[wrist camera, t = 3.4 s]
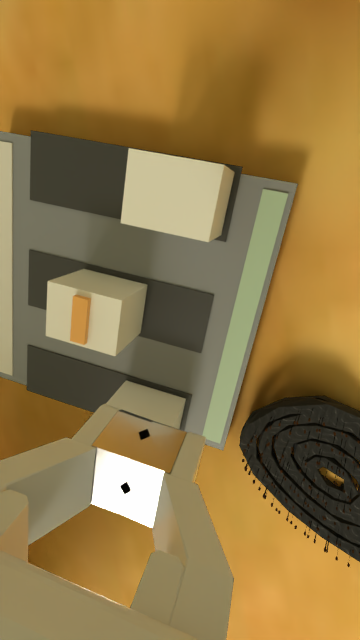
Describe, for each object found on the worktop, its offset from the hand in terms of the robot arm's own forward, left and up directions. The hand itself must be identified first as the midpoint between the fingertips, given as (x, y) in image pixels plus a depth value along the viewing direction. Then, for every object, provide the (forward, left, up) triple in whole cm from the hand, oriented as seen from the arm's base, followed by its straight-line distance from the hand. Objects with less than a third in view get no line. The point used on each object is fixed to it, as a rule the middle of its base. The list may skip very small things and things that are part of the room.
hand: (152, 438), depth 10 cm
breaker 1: (0, +6, -11) cm, 12 cm away
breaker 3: (-7, +3, -11) cm, 13 cm away
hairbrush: (-12, -13, -13) cm, 22 cm away
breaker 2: (+6, +3, -10) cm, 12 cm away
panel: (0, +6, -12) cm, 14 cm away
